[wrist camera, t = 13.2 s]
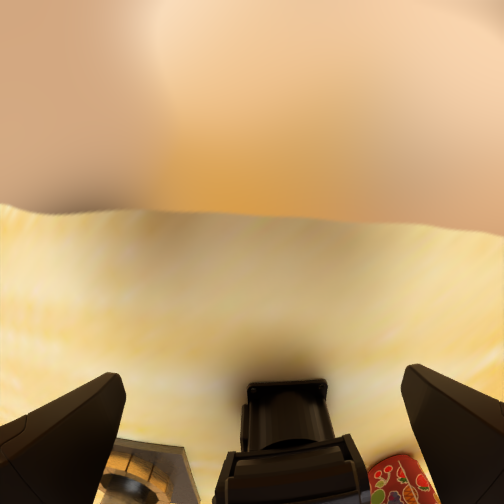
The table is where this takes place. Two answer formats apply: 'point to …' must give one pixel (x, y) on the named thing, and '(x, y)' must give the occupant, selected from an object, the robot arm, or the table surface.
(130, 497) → the piston
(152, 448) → the ring collar
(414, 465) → the smoothie
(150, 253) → the table surface
